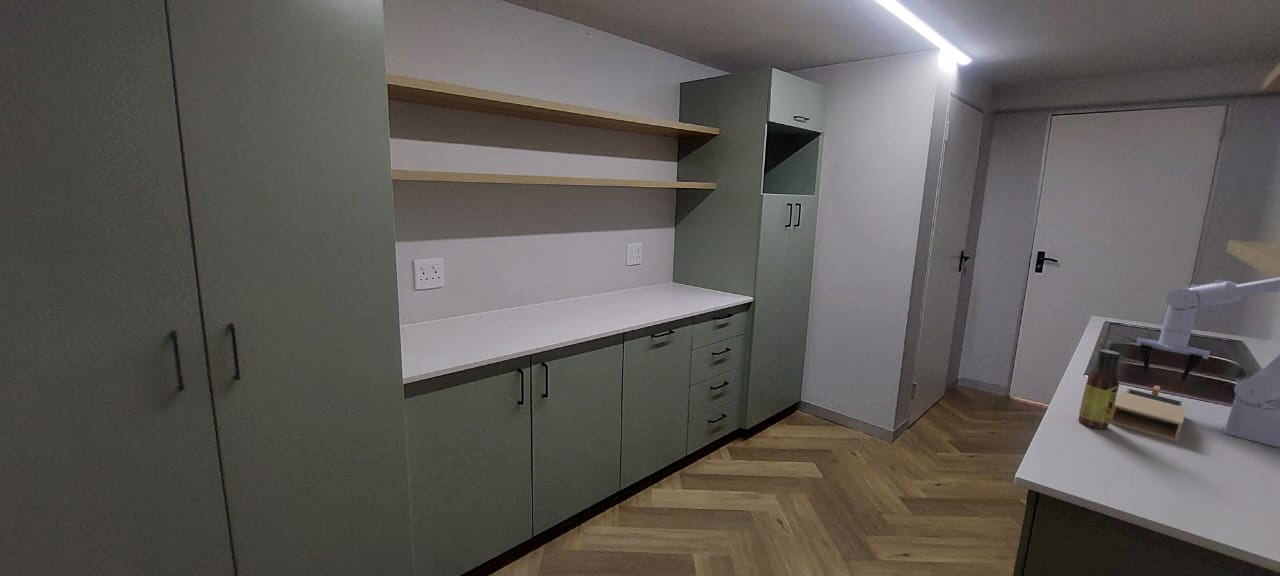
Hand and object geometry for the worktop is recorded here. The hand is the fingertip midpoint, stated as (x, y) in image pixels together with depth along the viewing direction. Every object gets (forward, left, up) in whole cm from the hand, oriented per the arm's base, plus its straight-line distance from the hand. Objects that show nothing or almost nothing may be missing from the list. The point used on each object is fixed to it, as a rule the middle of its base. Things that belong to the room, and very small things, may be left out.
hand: (1164, 375), depth 149 cm
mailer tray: (+1, +8, -8) cm, 12 cm away
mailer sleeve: (+1, +20, -9) cm, 22 cm away
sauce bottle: (+10, +33, -10) cm, 35 cm away
